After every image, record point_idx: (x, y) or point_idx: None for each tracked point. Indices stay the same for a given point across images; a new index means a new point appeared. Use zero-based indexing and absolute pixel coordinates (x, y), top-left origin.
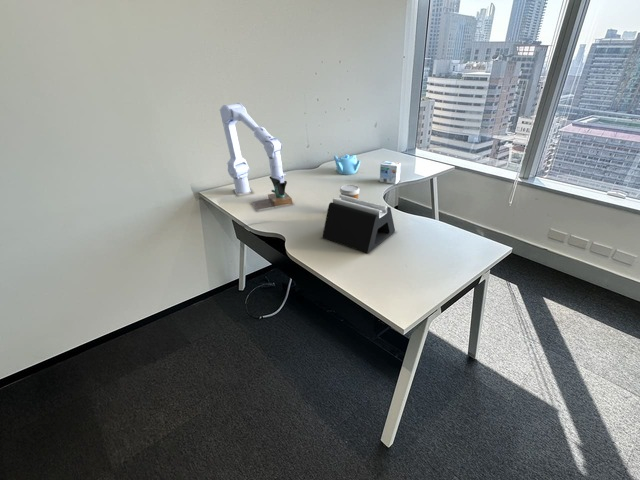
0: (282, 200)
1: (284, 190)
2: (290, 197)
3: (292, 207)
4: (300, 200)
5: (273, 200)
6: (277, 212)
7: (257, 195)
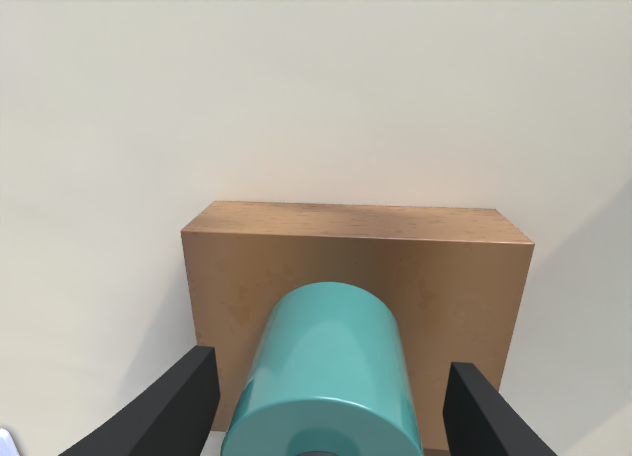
0: (503, 368)
1: (530, 432)
2: (478, 245)
3: (582, 242)
4: (424, 49)
5: (437, 447)
6: (585, 409)
7: (66, 409)
